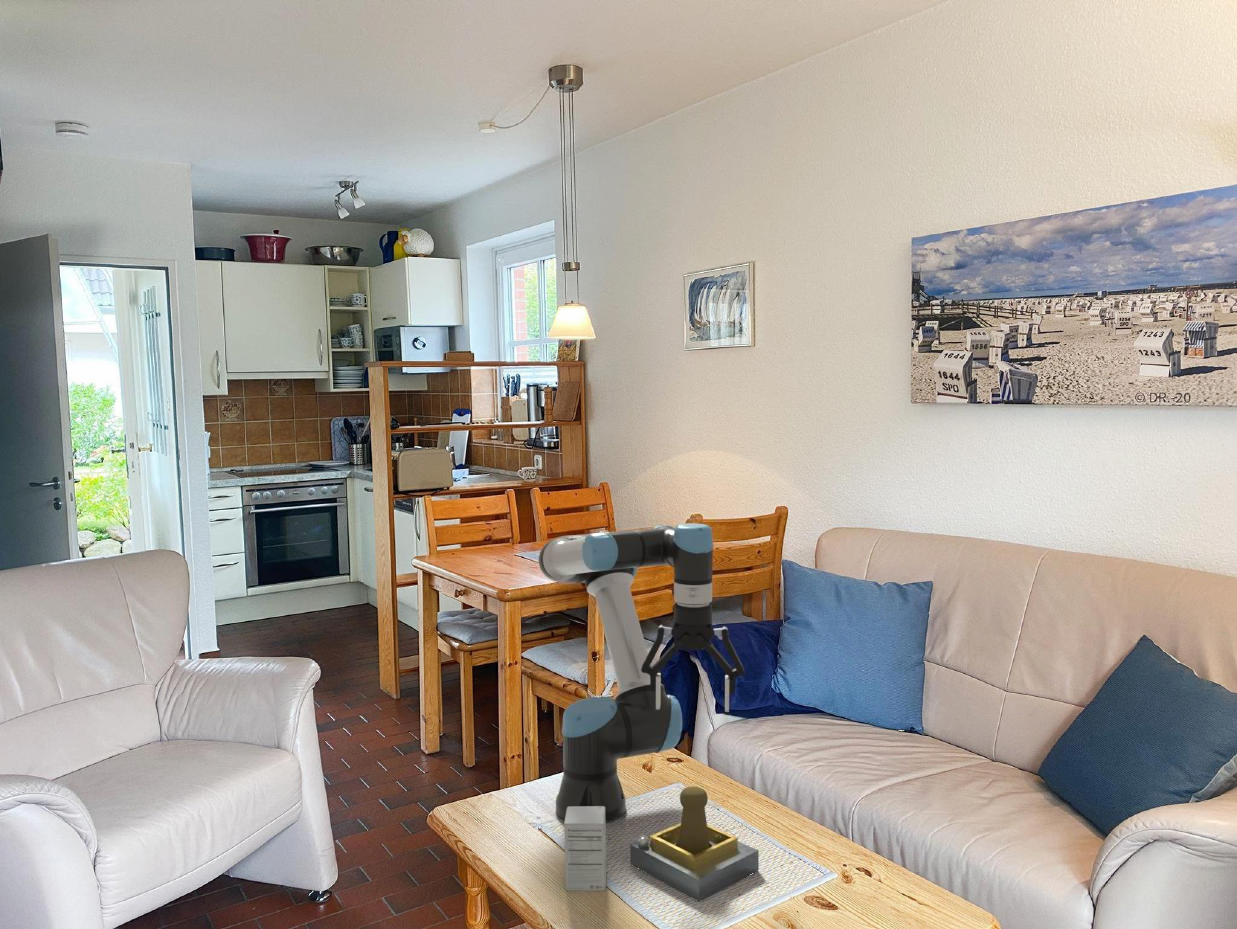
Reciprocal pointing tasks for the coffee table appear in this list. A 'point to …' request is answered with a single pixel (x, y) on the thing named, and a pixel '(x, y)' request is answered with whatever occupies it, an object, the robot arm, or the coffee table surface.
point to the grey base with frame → (694, 861)
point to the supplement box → (585, 848)
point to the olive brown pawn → (693, 821)
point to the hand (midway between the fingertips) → (692, 708)
